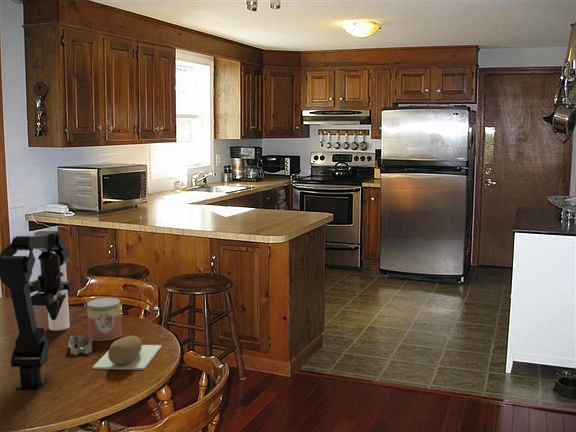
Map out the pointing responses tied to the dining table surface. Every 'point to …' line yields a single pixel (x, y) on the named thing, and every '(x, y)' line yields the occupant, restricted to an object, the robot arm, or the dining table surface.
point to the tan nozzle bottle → (124, 350)
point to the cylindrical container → (63, 314)
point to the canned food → (104, 319)
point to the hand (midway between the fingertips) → (53, 319)
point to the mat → (136, 364)
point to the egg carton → (80, 344)
